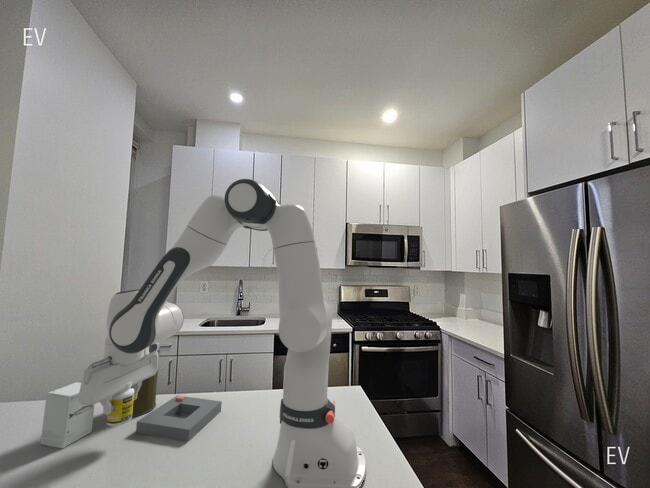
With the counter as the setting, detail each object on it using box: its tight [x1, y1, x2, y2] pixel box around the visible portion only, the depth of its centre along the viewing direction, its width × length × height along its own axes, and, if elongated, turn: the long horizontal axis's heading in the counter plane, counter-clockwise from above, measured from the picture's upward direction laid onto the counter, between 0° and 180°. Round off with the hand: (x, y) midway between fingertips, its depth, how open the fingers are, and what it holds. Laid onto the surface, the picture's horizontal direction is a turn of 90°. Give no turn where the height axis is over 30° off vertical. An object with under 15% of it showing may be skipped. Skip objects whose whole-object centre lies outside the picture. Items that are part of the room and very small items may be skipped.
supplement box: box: [40, 381, 95, 449], centre depth 74 cm, size 7×7×13 cm
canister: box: [131, 347, 161, 418], centre depth 90 cm, size 11×10×20 cm
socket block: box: [135, 395, 222, 442], centre depth 83 cm, size 16×16×4 cm
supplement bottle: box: [106, 381, 134, 427], centre depth 73 cm, size 5×5×10 cm
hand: (120, 406), depth 73 cm, fingers closed on supplement bottle, 5 cm apart
